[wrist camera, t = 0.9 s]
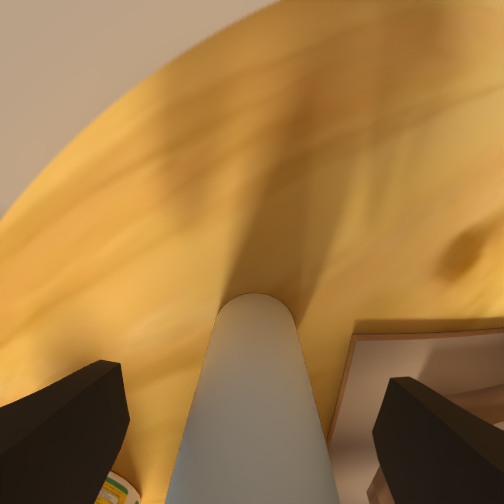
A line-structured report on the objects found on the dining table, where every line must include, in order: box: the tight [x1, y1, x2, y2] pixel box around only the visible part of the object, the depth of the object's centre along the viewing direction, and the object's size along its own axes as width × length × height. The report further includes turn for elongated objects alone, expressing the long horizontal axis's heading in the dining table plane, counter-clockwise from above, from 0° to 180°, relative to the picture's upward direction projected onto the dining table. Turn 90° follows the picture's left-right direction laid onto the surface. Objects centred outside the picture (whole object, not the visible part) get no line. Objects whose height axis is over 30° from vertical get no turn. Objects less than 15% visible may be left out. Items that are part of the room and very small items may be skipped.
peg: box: [165, 293, 340, 504], centre depth 8 cm, size 3×3×10 cm
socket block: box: [326, 328, 504, 504], centre depth 12 cm, size 14×14×4 cm
